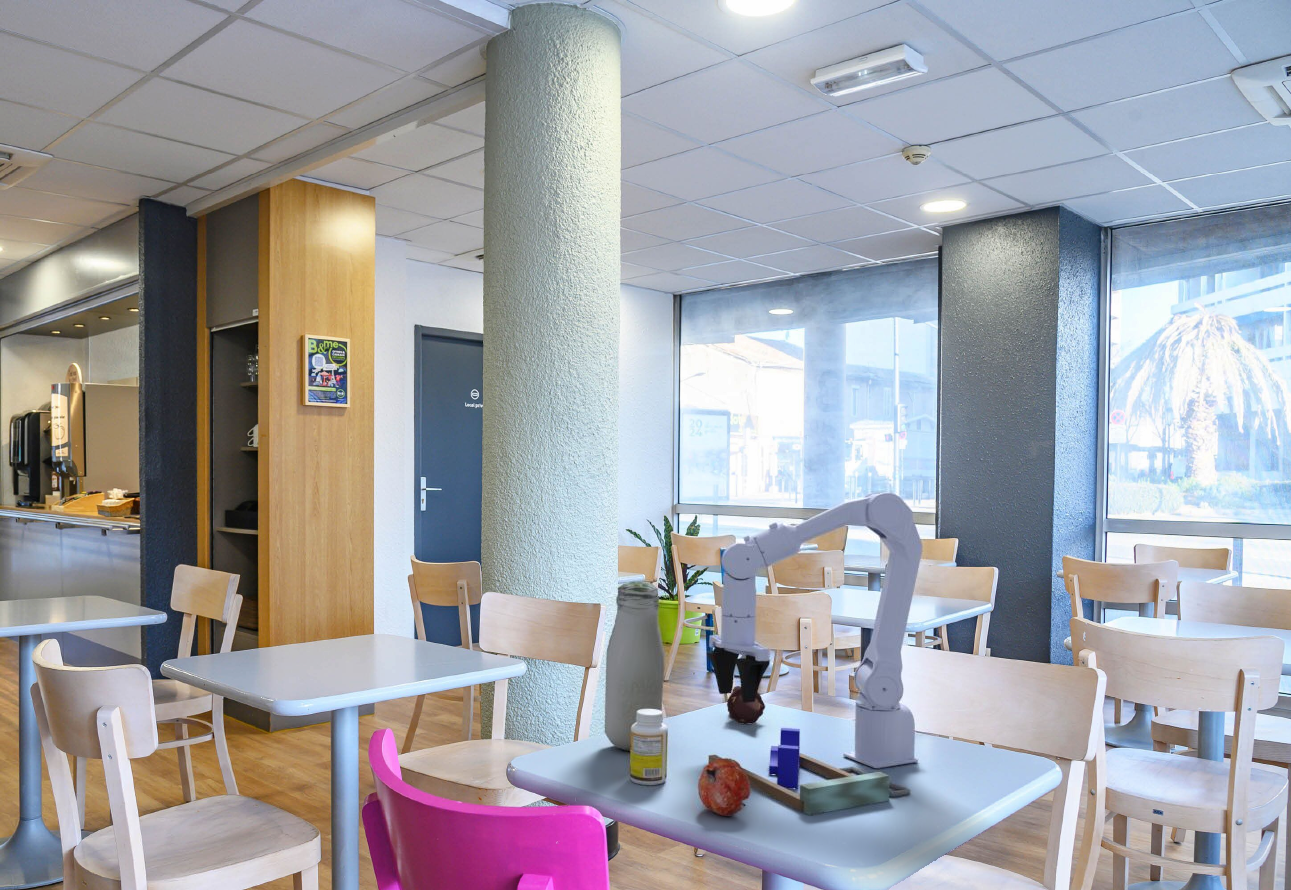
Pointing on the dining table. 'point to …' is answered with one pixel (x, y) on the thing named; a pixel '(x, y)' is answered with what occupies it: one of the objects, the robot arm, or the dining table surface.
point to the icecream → (744, 707)
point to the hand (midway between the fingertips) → (736, 697)
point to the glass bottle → (633, 661)
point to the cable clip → (786, 758)
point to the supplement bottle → (648, 748)
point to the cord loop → (896, 793)
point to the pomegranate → (724, 787)
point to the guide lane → (825, 788)
